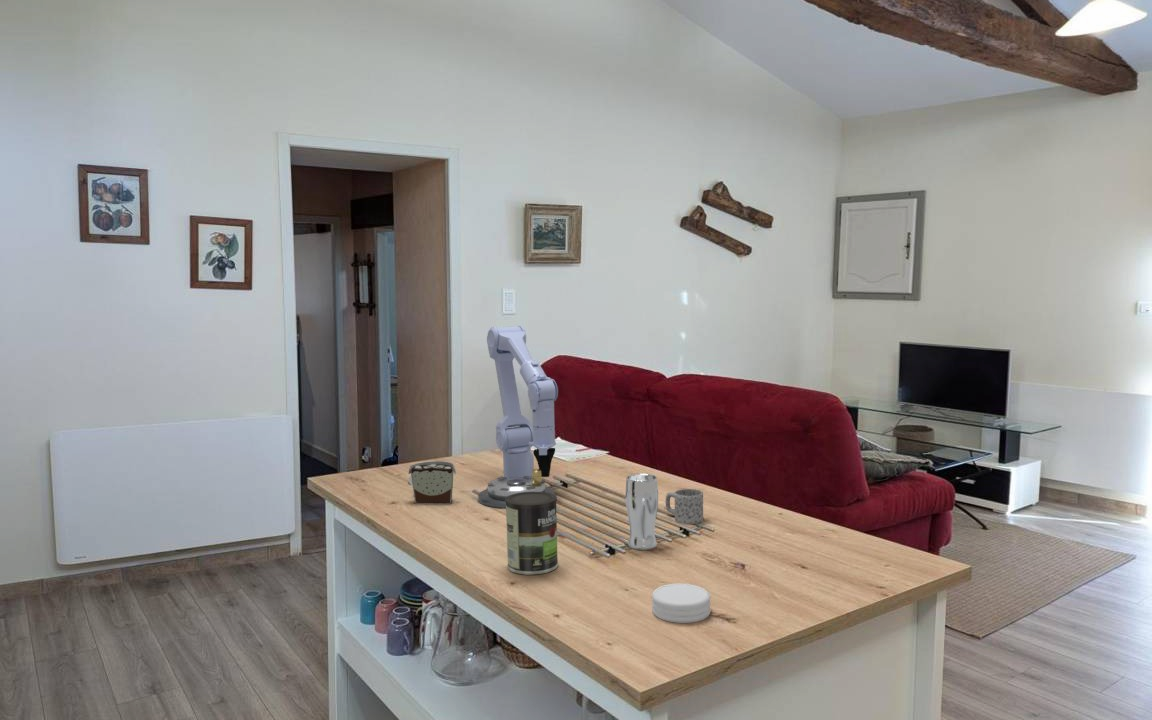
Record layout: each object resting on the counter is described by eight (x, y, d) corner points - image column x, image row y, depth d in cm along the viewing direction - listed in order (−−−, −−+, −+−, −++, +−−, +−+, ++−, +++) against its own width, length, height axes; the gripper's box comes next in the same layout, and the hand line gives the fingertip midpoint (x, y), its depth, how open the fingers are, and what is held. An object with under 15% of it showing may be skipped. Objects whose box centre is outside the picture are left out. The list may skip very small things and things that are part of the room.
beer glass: (637, 553, 175) (636, 482, 173) (620, 544, 181) (619, 476, 179) (665, 547, 178) (664, 478, 176) (647, 538, 184) (646, 471, 183)
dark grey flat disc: (500, 485, 233) (500, 481, 233) (566, 491, 225) (566, 486, 225) (464, 504, 214) (464, 499, 214) (535, 511, 207) (534, 506, 207)
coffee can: (568, 562, 170) (566, 494, 169) (539, 578, 161) (537, 507, 160) (526, 554, 176) (524, 488, 174) (496, 569, 167) (494, 500, 165)
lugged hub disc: (504, 483, 229) (503, 460, 229) (554, 488, 224) (553, 464, 223) (477, 497, 216) (476, 473, 215) (530, 502, 210) (529, 477, 209)
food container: (462, 498, 221) (460, 460, 220) (456, 504, 215) (455, 466, 214) (416, 497, 222) (415, 460, 221) (409, 504, 216) (408, 466, 215)
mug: (708, 519, 198) (708, 491, 197) (692, 526, 193) (692, 497, 192) (674, 511, 204) (674, 485, 204) (657, 518, 199) (657, 490, 199)
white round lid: (645, 620, 142) (644, 600, 141) (660, 598, 151) (660, 579, 151) (703, 628, 138) (703, 607, 138) (715, 605, 147) (715, 586, 147)
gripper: (530, 421, 227) (531, 470, 229) (526, 431, 213) (528, 483, 214) (556, 420, 227) (557, 469, 229) (554, 430, 213) (555, 482, 214)
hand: (545, 476), depth 221 cm, fingers closed
